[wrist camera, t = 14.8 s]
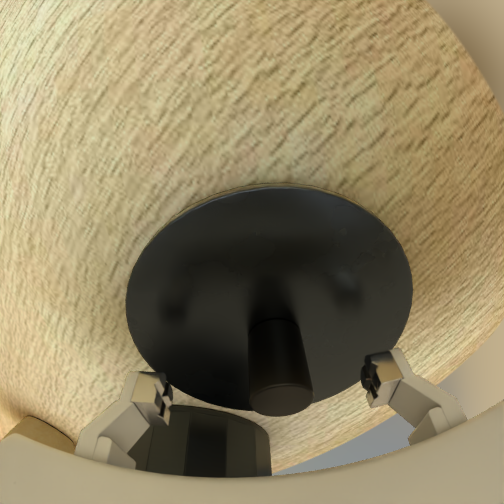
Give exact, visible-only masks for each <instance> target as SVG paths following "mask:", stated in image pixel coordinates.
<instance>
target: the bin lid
mask: <svg viewBox="0 0 504 504" xmlns="http://www.w3.org/2000/svg"><path fill="white" fill-rule="evenodd" d="M412 295H413V285H412V274H411V270H410V266H409V263H408V259H407V257H406V255H405V253H404V250H403V248H402V246H401V244H400V243H399V242H398V240H397V239H396V237H395V236H394V234H393V233H392V232H391V230H390V229H389V228H388V227H387V226H386V225H385V224H384V223H383V222H382V221H381V220H379V219H378V218H377V217H376V216H375V215H374V214H373V213H372V212H370V211H369V210H367V209H366V208H364V207H363V206H362V205H360V204H359V203H357V202H355V201H353V200H351V199H349V198H347V197H345V196H343V195H340V194H338V193H336V192H332V191H329V190H325V189H322V188H319V187H315V186H309V185H301V184H294V183H262V184H256V185H249V186H242V187H237V188H234V189H231V190H227V191H224V192H220V193H217V194H214V195H212V196H210V197H208V198H205V199H203V200H201V201H199V202H197V203H195V204H193V205H191V206H189V207H188V208H186V209H185V210H183V211H182V212H180V213H179V214H177V215H176V216H174V217H173V218H172V219H171V220H170V221H168V222H167V223H166V224H165V225H164V226H163V227H162V228H161V229H160V230H158V231H157V233H156V234H155V235H154V236H153V238H152V239H151V240H150V241H149V243H148V244H147V245H146V246H145V248H144V249H143V251H142V253H141V255H140V256H139V258H138V260H137V262H136V264H135V266H134V267H133V270H132V273H131V276H130V279H129V282H128V286H127V293H126V317H127V322H128V327H129V331H130V333H131V336H132V338H133V341H134V343H135V345H136V347H137V349H138V350H139V352H140V354H141V355H142V357H143V358H144V359H145V361H146V362H147V363H148V364H149V366H150V367H151V368H152V369H153V370H154V371H155V372H160V373H165V375H166V377H167V379H166V381H167V382H168V383H169V384H171V385H172V386H174V387H175V388H177V389H179V390H180V391H182V392H184V393H186V394H188V395H190V396H192V397H194V398H196V399H199V400H202V401H204V402H207V403H210V404H214V405H217V406H221V407H226V408H231V409H237V410H247V411H255V412H257V413H259V414H262V415H265V416H273V417H280V416H288V415H292V414H295V413H298V412H300V411H302V410H304V409H306V408H307V407H308V406H309V405H310V404H312V403H315V402H319V401H321V400H324V399H327V398H329V397H332V396H334V395H336V394H338V393H340V392H342V391H344V390H346V389H347V388H349V387H351V386H352V385H354V384H356V383H357V382H359V381H360V380H361V379H360V372H361V368H362V367H363V366H364V365H365V362H364V358H365V356H366V355H367V354H372V353H376V352H381V351H385V350H391V349H393V347H394V346H395V345H396V343H397V341H398V340H399V338H400V336H401V334H402V332H403V330H404V328H405V325H406V323H407V320H408V318H409V313H410V309H411V305H412Z"/></svg>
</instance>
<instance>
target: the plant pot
mask: <svg viewBox="0 0 504 504" xmlns="http://www.w3.org/2000/svg"><path fill="white" fill-rule="evenodd" d="M13 433H17V434H20V435H23V436H25V437H27V438H29V439H32V440H34V441H37V442H39V443H42V444H44V445H47V446H49V447H52V448H55V449H58V450H61V451H64V452H67V453H70V454H73V455H74V452H75V451H74V444H73V442H72V441H71V440H70V439H69V438H67V437H66V436H65V435H64V434H62V433H61V432H59V431H58V430H56V429H55V428H53V427H51V426H50V425H48V424H46V423H45V422H43V421H41V420H39V419H36V418H34V417H31V416H27V417H26V418H24V419H23V420H22V421H21V422H20V423H18V424H17V425H16V426H15V427H14V428H13V429H12V430H11V431H10V432H9V433H8V434H7V435H6V436H5V437H4V438H6V437H7V436H9V435H11V434H13ZM4 438H3V439H4ZM3 439H2V440H3Z"/></svg>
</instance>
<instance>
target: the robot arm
mask: <svg viewBox="0 0 504 504" xmlns="http://www.w3.org/2000/svg"><path fill="white" fill-rule="evenodd" d="M364 362H365V365H364V366H363V367H362V368H361V372H360V379H361V383H362V386H363V388H364V389H366V390H367V391H368V392H367V395H366V398H367V400H368V403H369V406H370V408H374V407H378V406H382V405H386V404H388V405H389V406H390V407H391V408H392V409H393V410H395V411H396V412H397V413H398V414H399V415H400V416H402V417H403V418H404V419H405V420H406V421H408V422H409V423H410V424H411V425H412V426H413V427H415V428H416V429H415V430H414V431H413V432H412V434H411V435H410V436H409V438H408V441H409V444H410V446H408V447H405V448H402V449H399V450H396V451H393V452H390V453H387V454H384V455H381V456H377V457H373V458H370V459H366V460H362V461H358V462H354V463H350V464H346V465H341V466H337V467H332V468H327V469H321V470H316V471H309V472H303V473H295V474H286V475H276V476H264V477H243V478H211V477H191V476H178V475H168V474H160V473H153V472H146V471H140V470H135V466H136V462H135V461H134V459H132V458H131V457H130V456H129V455H128V454H127V452H128V451H129V450H130V449H131V448H132V446H133V445H134V444H135V443H136V442H137V441H138V439H139V438H140V437H141V436H142V435H143V433H144V432H145V431H146V430H147V429H148V428H149V426H150V425H163V426H168V425H169V419H170V411H169V409H168V408H169V407H170V406H171V405H172V401H173V392H172V387H171V385H170V384H169V383H168V382H166V379H167V377H166V375H165V373H160V372H144V371H129V372H128V374H127V377H126V380H125V383H124V386H123V389H122V392H121V395H120V398H119V401H115V402H114V403H113V404H111V405H110V406H109V407H108V408H107V409H106V410H105V411H103V412H102V413H101V414H100V415H99V416H98V417H96V418H95V419H94V420H93V421H92V422H91V423H89V424H88V425H87V426H86V427H85V428H84V429H82V430H81V433H80V436H79V439H78V442H77V445H76V448H75V452H74V455H73V454H70V453H67V452H64V451H61V450H58V449H55V448H52V447H49V446H47V445H44V444H42V443H39V442H37V441H34V440H32V439H29V438H27V437H25V436H23V435H20V434H17V433H13V434H11V435H9V436H7V437H6V438H4V439H3V440H1V441H0V504H504V400H502V401H501V402H499V403H497V404H496V405H494V406H492V407H491V408H489V409H487V410H486V411H484V412H482V413H481V414H479V415H477V416H475V417H473V418H471V419H469V420H467V418H466V416H465V414H464V412H463V410H462V408H461V406H460V404H459V402H458V400H457V398H455V397H454V396H452V395H451V394H449V393H447V392H445V391H444V390H442V389H440V388H439V387H437V386H436V385H434V384H432V383H431V382H429V381H427V380H426V379H424V378H422V377H421V376H419V375H414V373H413V371H412V369H411V367H410V365H409V363H408V361H407V359H406V358H405V356H404V354H403V352H402V350H401V349H400V348H395V349H391V350H385V351H381V352H376V353H372V354H367V355H366V356H365V358H364Z"/></svg>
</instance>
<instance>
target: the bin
mask: <svg viewBox="0 0 504 504" xmlns="http://www.w3.org/2000/svg"><path fill="white" fill-rule="evenodd" d="M168 409H169V411H170V419H169V425H168V426H163V425H150V426H149V428H148V429H147V430H146V431H145V432H144V433H143V435H142V436H141V437H140V438H139V439H138V441H137V442H136V443H135V444H134V445H133V446H132V448H131V449H130V450H129V451H128V452H127V454H128V455H129V456H130V457H131V458H132V459H134V461H135V462H136V466H135V470H140V471H146V472H153V473H160V474H168V475H178V476H191V477H211V478H243V477H264V476H272V470H271V456H270V444H269V437H268V434H267V433H266V431H265V430H264V429H262V428H261V427H260V426H258V425H257V424H255V423H253V422H251V421H249V420H246V419H244V418H241V417H238V416H235V415H232V414H228V413H224V412H220V411H215V410H211V409H205V408H198V407H190V406H178V405H171V406H170V407H169V408H168Z"/></svg>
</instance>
